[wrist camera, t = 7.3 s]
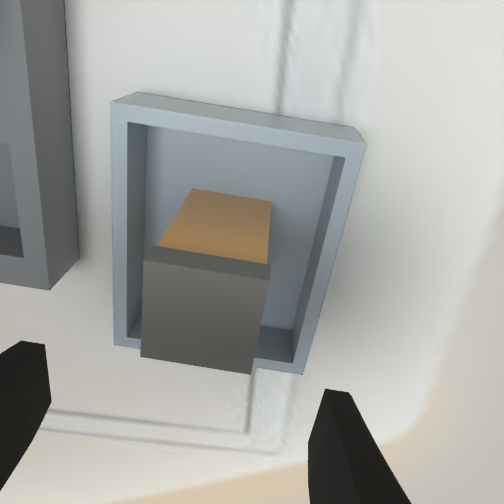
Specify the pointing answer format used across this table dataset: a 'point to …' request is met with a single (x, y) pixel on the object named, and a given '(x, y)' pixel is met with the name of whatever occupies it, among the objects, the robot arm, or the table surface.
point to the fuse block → (35, 146)
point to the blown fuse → (208, 283)
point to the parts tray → (235, 183)
